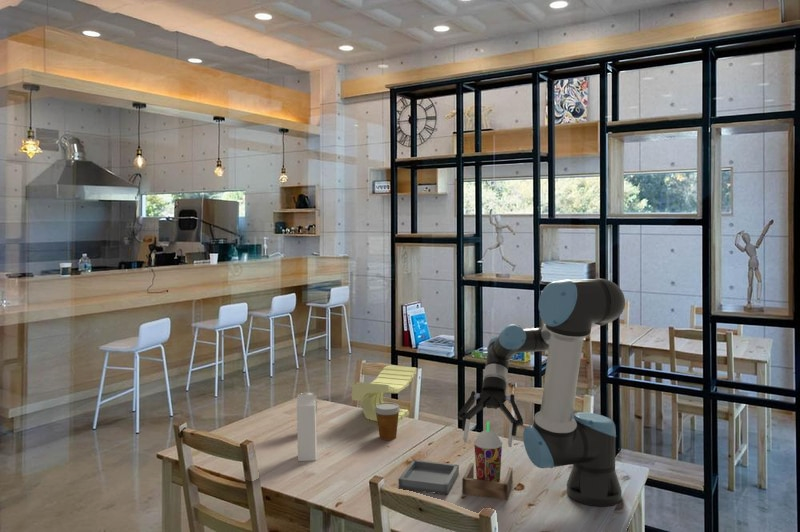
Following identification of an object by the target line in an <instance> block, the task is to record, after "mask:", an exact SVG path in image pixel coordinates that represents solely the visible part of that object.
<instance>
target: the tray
mask: <svg viewBox="0 0 800 532" xmlns="http://www.w3.org/2000/svg"><path fill="white" fill-rule="evenodd" d="M459 468H460V467H459V464H453V463H447V462H445V463H443V462H437V461H430V460H429V461H427V460H419V459H412V460H411V462H410V463H409V465H407V467H406V469H405V470H404V471H403V473H402V474H401V475H400V476H399V477H398V489H399V488H403V489H402V490H406V489H407V491H415V492H422V491H426V492H425V493H428V492H435V493H434V494H436V493H440V494H439V495H443V494H444V495H443V496H448V495H449V492H450V491H451V489H452V488H453V485H454V484H455V482H456V480H457V478H458V477H459V475H460V473H459V472H460V471H459V470H460V469H459Z"/></svg>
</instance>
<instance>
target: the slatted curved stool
mask: <svg viewBox="0 0 800 532" xmlns="http://www.w3.org/2000/svg"><path fill="white" fill-rule="evenodd" d="M416 375H417V367H413V366H412V367H411V366H403V365H401V366H400V365H386V366H384V367H383V368H382V369H381V371H380V372H379V374H378V375H377V376H376V377H375V379H374V380H372V382H364V381H362V382H361V381H358V382H357V381H356V382H355V383H354V384H353V385H352V387H351V400H352V401H357V402H358V401H359V402H361V403H362V411H363V415H364V417H365V418H366V419H367V420H369V419H370V420H369V421H376V422H377V416H376V412H375V408H376V405H377V404H380V403H385V401H384V394H399V393H400V392H401V391H403V390H404V389H406V388H408V387H409V385H410V383H412V379H414V378H415V377H414V376H416ZM408 415H410V411H409V409H403V408H400V411H399V416H398V423H400V422H401V421H402V420H404V419H405V418H406V417H407V416H408ZM401 419H402V420H401ZM400 420H401V421H400ZM399 421H400V422H399Z"/></svg>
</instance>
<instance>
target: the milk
mask: <svg viewBox="0 0 800 532" xmlns="http://www.w3.org/2000/svg"><path fill="white" fill-rule="evenodd" d="M296 397H297V398H296V399H297V400H296V401H297V402H296V421H297V422H296V428H297V429H296V430H297V432H296V433H297V461H298V462H312V461H313V462H314V461H317V453H318V452H317V450H318V449H317V445H318V444H317V432H316V431H317V413H316V402H315V395H314V394H305V395H299V394H297V396H296Z"/></svg>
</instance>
